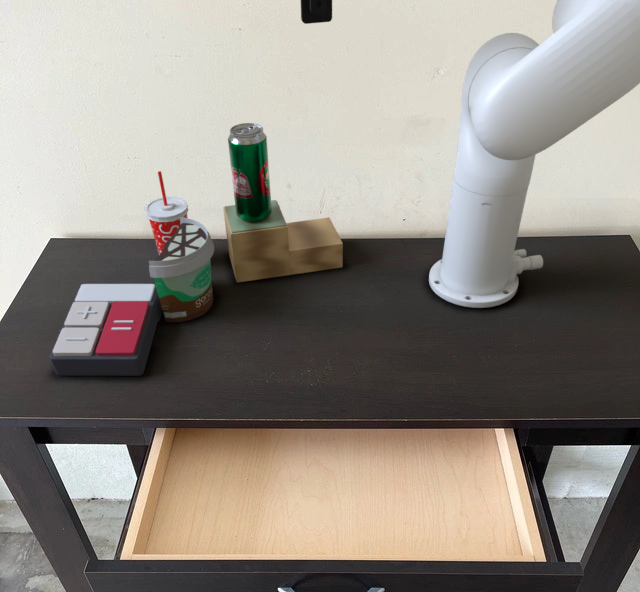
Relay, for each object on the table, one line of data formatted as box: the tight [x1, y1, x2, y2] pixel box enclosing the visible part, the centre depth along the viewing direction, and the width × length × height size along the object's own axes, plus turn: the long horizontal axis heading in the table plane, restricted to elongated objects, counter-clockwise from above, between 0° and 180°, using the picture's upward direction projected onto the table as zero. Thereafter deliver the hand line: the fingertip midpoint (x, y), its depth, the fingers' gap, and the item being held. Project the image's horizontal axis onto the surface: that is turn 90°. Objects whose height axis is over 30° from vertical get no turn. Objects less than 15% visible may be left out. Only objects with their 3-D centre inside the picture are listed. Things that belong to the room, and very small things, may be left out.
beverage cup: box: [144, 171, 189, 256], centre depth 95 cm, size 6×6×14 cm
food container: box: [148, 217, 215, 323], centre depth 89 cm, size 12×6×10 cm, turn 168°
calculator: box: [49, 283, 163, 377], centre depth 86 cm, size 11×4×15 cm
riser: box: [222, 199, 344, 283], centre depth 97 cm, size 16×8×8 cm, turn 104°
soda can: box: [227, 122, 272, 222], centre depth 89 cm, size 5×5×12 cm
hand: (306, 9), depth 72 cm, fingers open, 9 cm apart
